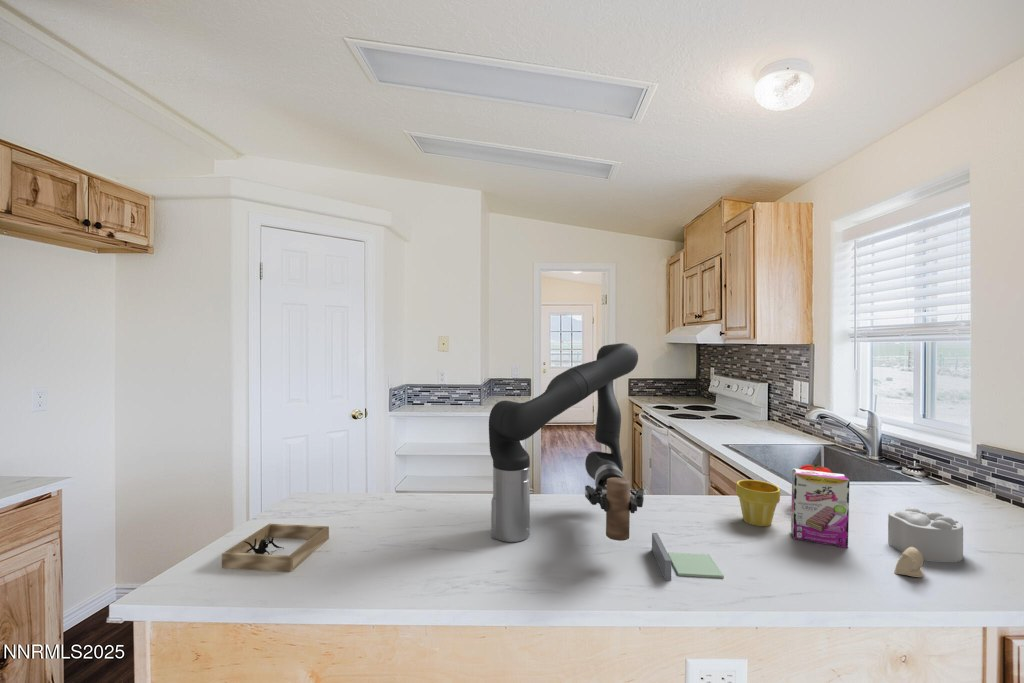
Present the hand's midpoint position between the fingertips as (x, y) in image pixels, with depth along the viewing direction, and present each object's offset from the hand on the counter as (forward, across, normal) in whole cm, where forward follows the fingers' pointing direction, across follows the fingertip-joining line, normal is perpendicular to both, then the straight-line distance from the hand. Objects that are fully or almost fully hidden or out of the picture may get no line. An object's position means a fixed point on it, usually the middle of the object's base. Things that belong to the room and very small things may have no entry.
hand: (619, 507), depth 95 cm
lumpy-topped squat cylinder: (-16, +72, +12) cm, 75 cm away
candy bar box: (-19, +50, +12) cm, 55 cm away
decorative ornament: (-5, +60, +12) cm, 62 cm away
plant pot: (-29, +40, +12) cm, 51 cm away
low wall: (-3, +9, +13) cm, 16 cm away
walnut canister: (-3, 0, +7) cm, 7 cm away
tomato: (-39, +60, +12) cm, 73 cm away
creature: (+2, -80, +14) cm, 81 cm away
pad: (-3, +16, +13) cm, 21 cm away
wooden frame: (+1, -77, +14) cm, 78 cm away
